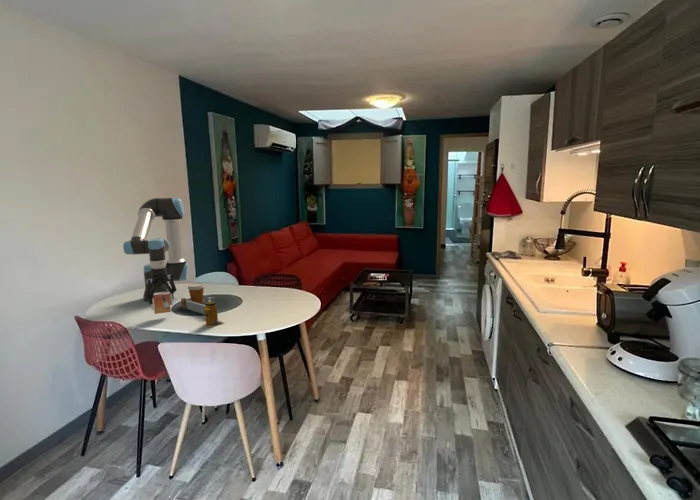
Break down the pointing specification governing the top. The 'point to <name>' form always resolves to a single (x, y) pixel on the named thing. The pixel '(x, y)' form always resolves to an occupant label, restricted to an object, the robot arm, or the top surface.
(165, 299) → the small box
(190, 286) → the disposable coffee cup
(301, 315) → the top surface
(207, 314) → the condiment
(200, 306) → the door
